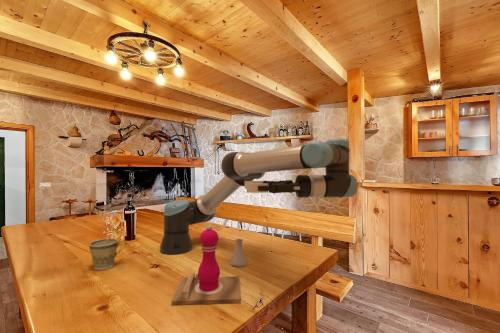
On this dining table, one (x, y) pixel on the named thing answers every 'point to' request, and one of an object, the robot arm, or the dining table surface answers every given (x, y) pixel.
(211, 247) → the pepper mill
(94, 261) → the ceramic cup
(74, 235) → the dining table surface
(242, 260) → the flask
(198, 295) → the jig board
